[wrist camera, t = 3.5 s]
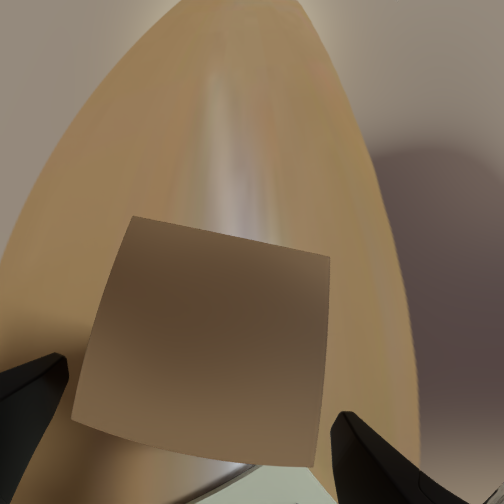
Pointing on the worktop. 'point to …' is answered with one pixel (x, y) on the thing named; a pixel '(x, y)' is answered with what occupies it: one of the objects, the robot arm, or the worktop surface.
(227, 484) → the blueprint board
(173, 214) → the worktop surface
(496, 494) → the candy box
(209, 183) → the worktop surface
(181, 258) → the walnut column
